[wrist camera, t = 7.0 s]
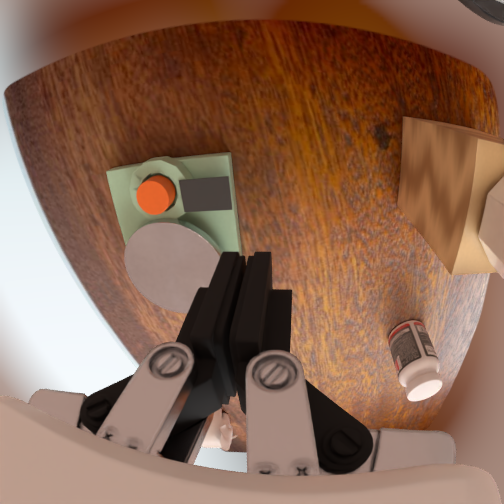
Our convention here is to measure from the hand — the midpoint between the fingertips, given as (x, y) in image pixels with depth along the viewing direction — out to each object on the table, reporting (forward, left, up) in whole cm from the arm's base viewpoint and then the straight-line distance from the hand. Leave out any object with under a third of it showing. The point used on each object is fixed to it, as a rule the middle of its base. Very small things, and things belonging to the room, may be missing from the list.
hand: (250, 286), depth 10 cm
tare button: (+1, -10, -15) cm, 18 cm away
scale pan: (+7, -10, -15) cm, 19 cm away
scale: (+6, -10, -18) cm, 21 cm away
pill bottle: (+22, +18, -18) cm, 34 cm away
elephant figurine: (+47, -13, -18) cm, 52 cm away
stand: (-1, +17, -18) cm, 24 cm away
